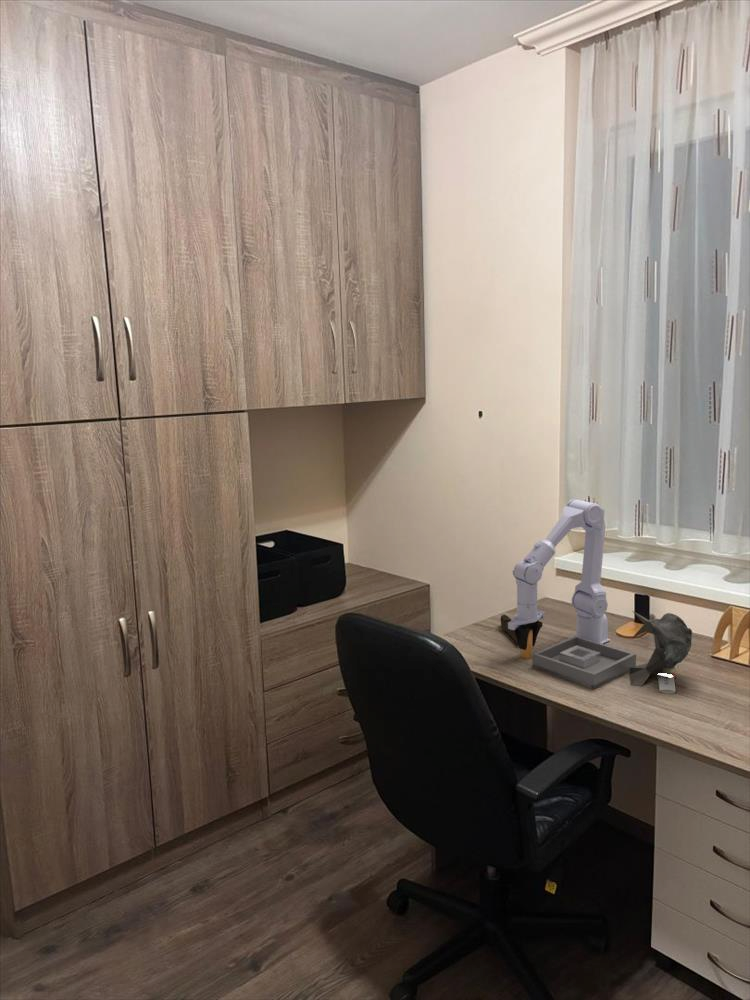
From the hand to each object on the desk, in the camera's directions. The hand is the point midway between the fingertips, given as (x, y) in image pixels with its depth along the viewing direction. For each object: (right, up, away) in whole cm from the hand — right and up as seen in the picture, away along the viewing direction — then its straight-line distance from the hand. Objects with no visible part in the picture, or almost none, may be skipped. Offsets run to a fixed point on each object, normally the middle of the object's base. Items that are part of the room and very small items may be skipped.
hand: (526, 647), depth 219 cm
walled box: (+14, -4, -8) cm, 17 cm away
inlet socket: (+14, -4, -6) cm, 16 cm away
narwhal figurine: (+32, -5, -16) cm, 37 cm away
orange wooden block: (0, -3, +1) cm, 3 cm away
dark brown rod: (-2, 0, +17) cm, 18 cm away
